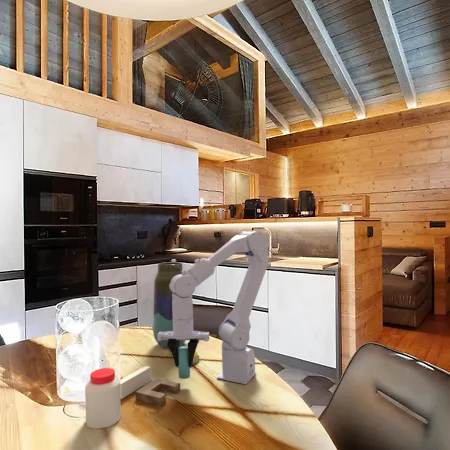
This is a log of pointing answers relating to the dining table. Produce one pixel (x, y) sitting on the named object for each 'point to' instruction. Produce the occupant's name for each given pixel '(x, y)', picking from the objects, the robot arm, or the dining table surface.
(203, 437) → the dining table surface
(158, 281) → the vase
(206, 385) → the dining table surface
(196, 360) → the bread roll
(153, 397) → the block
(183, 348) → the dowel
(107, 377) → the pill bottle
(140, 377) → the board
